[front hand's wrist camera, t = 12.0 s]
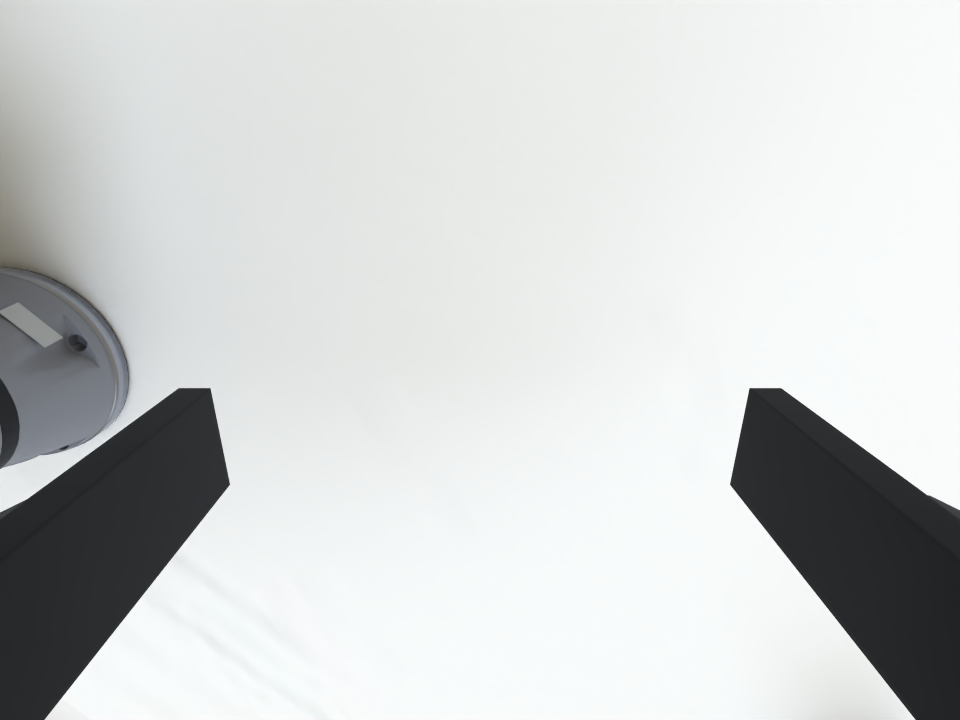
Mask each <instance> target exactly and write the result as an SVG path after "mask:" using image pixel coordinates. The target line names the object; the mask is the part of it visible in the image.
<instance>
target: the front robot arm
mask: <svg viewBox="0 0 960 720" xmlns="http://www.w3.org/2000/svg"><path fill="white" fill-rule="evenodd" d="M127 392H128V370H127V364H126V360H125V357H124V354H123V351H122V349H121V346H120V344H119V342H118V340H117V338H116V336H115V335H114V333H113V331H112V330H111V328H110V327H109V325H108V324H107V323H106V321H105V320H104V319H103V318H102V316H101V315H100V314H99V313H98V312H97V311H96V310H95V309H94V308H93V307H92V306H91V305H90V304H89V303H88V302H87V301H85V300H84V299H83V298H82V297H80V296H79V295H78V294H76V293H75V292H74V291H72V290H70V289H69V288H67V287H66V286H64V285H62V284H60V283H58V282H57V281H55V280H52V279H50V278H48V277H45V276H43V275H40V274H37V273H34V272H30V271H26V270H21V269H14V268H0V469H1V468H3V467H7V466H10V465H14V464H17V463H21V462H24V461H27V460H30V459H33V458H35V457H37V456H39V455H48V454H54V453H58V452H62V451H65V450H69V449H71V448H74V447H77V446H79V445H81V444H84V443H85V442H87V441H89V440H90V439H92V438H93V437H95V436H96V435H98V434H99V433H100V432H102V431H103V430H105V429H106V428H107V427H108V426H110V425H111V424H112V423H113V422H114V420H115V419H116V418H117V417H118V415H119V414H120V412H121V410H122V408H123V406H124V403H125V400H126V397H127ZM229 485H230V483H229V478H228V473H227V468H226V463H225V458H224V453H223V448H222V443H221V438H220V433H219V428H218V424H217V419H216V414H215V409H214V404H213V399H212V394H211V389H210V388H179V389H177V390H176V391H175V392H173V393H172V394H170V395H169V396H168V397H166V398H165V399H164V400H162V401H161V402H160V403H158V404H157V405H155V406H154V407H153V408H151V409H150V410H149V411H147V412H146V413H145V414H143V415H142V416H140V417H139V418H138V419H136V420H135V421H134V422H132V423H131V424H130V425H128V426H127V427H125V428H124V429H123V430H121V431H120V432H119V433H117V434H116V435H114V436H113V437H112V438H110V439H109V440H108V441H106V442H105V443H104V444H102V445H101V446H99V447H98V448H97V449H95V450H94V451H93V452H91V453H90V454H89V455H87V456H86V457H84V458H83V459H82V460H80V461H79V462H78V463H76V464H75V465H74V466H72V467H71V468H69V469H68V470H67V471H65V472H64V473H63V474H61V475H60V476H59V477H57V478H56V479H54V480H53V481H52V482H50V483H49V484H48V485H46V486H45V487H43V488H42V489H41V490H39V491H38V492H37V493H35V494H34V495H33V496H31V497H30V498H28V499H27V500H25V501H23V502H21V503H19V504H17V505H15V506H13V507H11V508H9V509H7V510H5V511H3V512H1V513H0V720H44V719H45V718H46V717H47V716H48V714H49V713H50V712H51V711H52V709H53V708H54V707H55V705H56V704H57V703H58V702H59V700H60V699H61V698H62V697H63V695H64V694H65V693H66V692H67V690H68V689H69V688H70V687H71V685H72V684H73V683H74V681H75V680H76V679H77V678H78V676H79V675H80V674H81V673H82V671H83V670H84V669H85V668H86V666H87V665H88V664H89V662H90V661H91V660H92V659H93V657H94V656H95V655H96V654H97V652H98V651H99V650H100V649H101V647H102V646H103V645H104V643H105V642H106V641H107V640H108V638H109V637H110V636H111V635H112V633H113V632H114V631H115V630H116V628H117V627H118V626H119V624H120V623H121V622H122V621H123V619H124V618H125V617H126V616H127V614H128V613H129V612H130V611H131V609H132V608H133V607H134V605H135V604H136V603H137V602H138V600H139V599H140V598H141V597H142V595H143V594H144V593H145V592H146V590H147V589H148V588H149V586H150V585H151V584H152V583H153V581H154V580H155V579H156V578H157V576H158V575H159V574H160V573H161V571H162V570H163V569H164V567H165V566H166V565H167V564H168V562H169V561H170V560H171V559H172V557H173V556H174V555H175V554H176V552H177V551H178V550H179V548H180V547H181V546H182V545H183V543H184V542H185V541H186V540H187V538H188V537H189V536H190V535H191V533H192V532H193V531H194V529H195V528H196V527H197V526H198V524H199V523H200V522H201V521H202V519H203V518H204V517H205V516H206V514H207V513H208V512H209V510H210V509H211V508H212V507H213V505H214V504H215V503H216V502H217V500H218V499H219V498H220V497H221V495H222V494H223V493H224V491H225V490H226V489H227V488H228V486H229ZM730 485H731V486H732V488H733V489H734V490H735V491H736V493H737V494H738V495H739V497H740V498H741V499H742V500H743V502H744V503H745V504H746V505H747V507H748V508H749V509H750V510H751V512H752V513H753V514H754V516H755V517H756V518H757V519H758V521H759V522H760V523H761V524H762V526H763V527H764V528H765V529H766V531H767V532H768V533H769V535H770V536H771V537H772V538H773V540H774V541H775V542H776V543H777V545H778V546H779V547H780V548H781V550H782V551H783V552H784V554H785V555H786V556H787V557H788V559H789V560H790V561H791V562H792V564H793V565H794V566H795V567H796V569H797V570H798V571H799V573H800V574H801V575H802V576H803V578H804V579H805V580H806V581H807V583H808V584H809V585H810V586H811V588H812V589H813V590H814V592H815V593H816V594H817V595H818V597H819V598H820V599H821V600H822V602H823V603H824V604H825V605H826V607H827V608H828V609H829V611H830V612H831V613H832V614H833V616H834V617H835V618H836V619H837V621H838V622H839V623H840V624H841V626H842V627H843V628H844V630H845V631H846V632H847V633H848V635H849V636H850V637H851V638H852V640H853V641H854V642H855V643H856V645H857V646H858V647H859V649H860V650H861V651H862V652H863V654H864V655H865V656H866V657H867V659H868V660H869V661H870V662H871V664H872V665H873V666H874V668H875V669H876V670H877V671H878V673H879V674H880V675H881V676H882V678H883V679H884V680H885V681H886V683H887V684H888V685H889V687H890V688H891V689H892V690H893V692H894V693H895V694H896V695H897V697H898V698H899V699H900V700H901V702H902V703H903V704H904V706H905V707H906V708H907V709H908V711H909V712H910V713H911V714H912V716H913V717H914V718H915V719H916V720H960V510H958V509H956V508H954V507H952V506H950V505H948V504H946V503H944V502H942V501H940V500H938V499H936V498H934V497H931V496H927V495H926V494H925V493H923V492H922V491H921V490H919V489H918V488H917V487H915V486H914V485H912V484H911V483H910V482H908V481H907V480H906V479H904V478H903V477H901V476H900V475H899V474H897V473H896V472H895V471H893V470H892V469H891V468H889V467H888V466H886V465H885V464H884V463H882V462H881V461H880V460H878V459H877V458H876V457H874V456H873V455H871V454H870V453H869V452H867V451H866V450H865V449H863V448H862V447H861V446H859V445H858V444H856V443H855V442H854V441H852V440H851V439H850V438H848V437H847V436H846V435H844V434H843V433H841V432H840V431H839V430H837V429H836V428H835V427H833V426H832V425H830V424H829V423H828V422H826V421H825V420H824V419H822V418H821V417H820V416H818V415H817V414H815V413H814V412H813V411H811V410H810V409H809V408H807V407H806V406H805V405H803V404H802V403H800V402H799V401H798V400H796V399H795V398H794V397H792V396H791V395H790V394H788V393H787V392H785V391H784V390H783V389H781V388H750V389H749V394H748V399H747V404H746V409H745V414H744V419H743V424H742V428H741V433H740V438H739V443H738V448H737V453H736V458H735V463H734V468H733V473H732V478H731V483H730Z"/></svg>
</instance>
